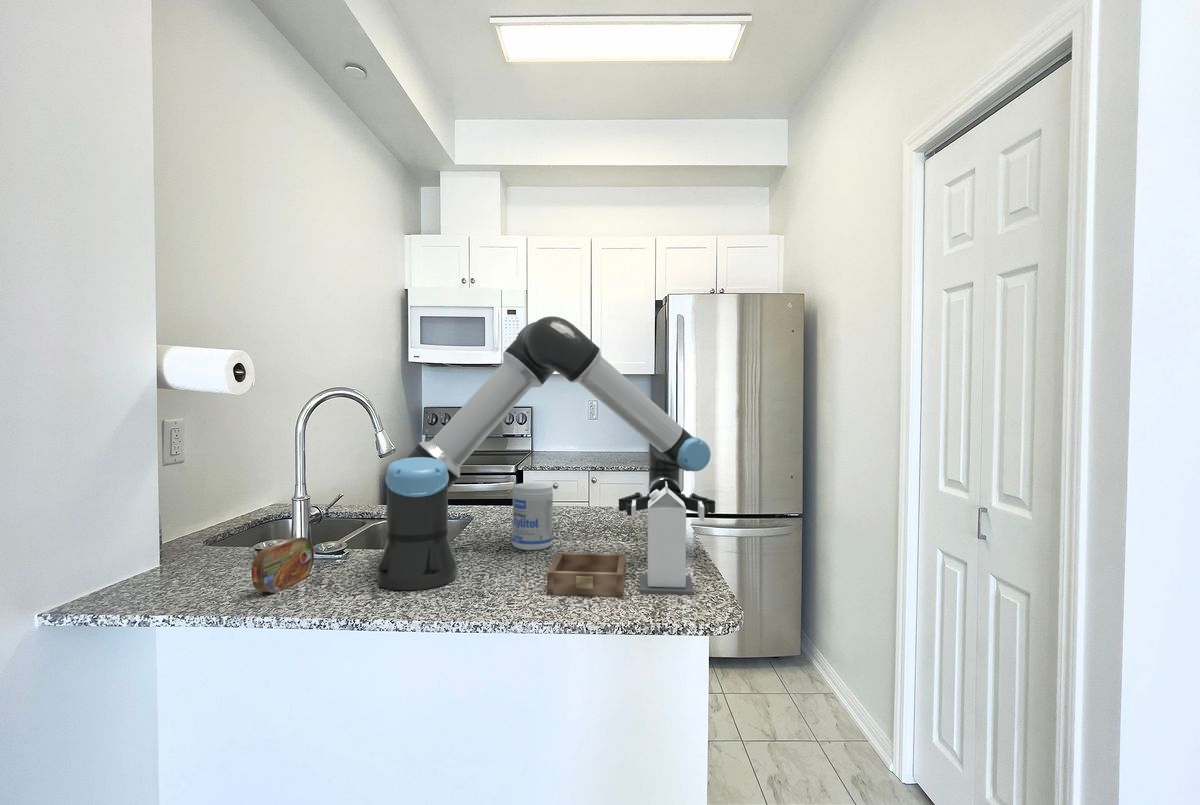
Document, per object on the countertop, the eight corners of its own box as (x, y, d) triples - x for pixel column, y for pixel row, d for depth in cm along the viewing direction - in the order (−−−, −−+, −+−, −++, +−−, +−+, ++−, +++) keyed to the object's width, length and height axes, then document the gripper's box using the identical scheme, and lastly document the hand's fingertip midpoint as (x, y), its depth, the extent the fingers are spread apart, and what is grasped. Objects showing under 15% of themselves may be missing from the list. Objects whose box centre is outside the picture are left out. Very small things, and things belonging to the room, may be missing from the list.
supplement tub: (508, 551, 141) (508, 488, 141) (515, 541, 151) (516, 482, 150) (550, 551, 141) (550, 488, 141) (554, 541, 150) (554, 482, 150)
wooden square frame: (546, 595, 111) (546, 573, 111) (557, 571, 125) (557, 552, 125) (622, 597, 110) (623, 575, 110) (625, 573, 124) (625, 554, 124)
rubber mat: (639, 593, 112) (639, 590, 112) (640, 576, 122) (640, 573, 122) (694, 594, 111) (694, 591, 111) (690, 578, 121) (690, 575, 121)
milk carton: (683, 577, 120) (684, 481, 120) (685, 588, 113) (686, 487, 112) (647, 576, 120) (647, 480, 120) (647, 587, 113) (648, 486, 113)
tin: (263, 599, 108) (263, 552, 108) (247, 598, 109) (247, 551, 109) (315, 574, 123) (315, 533, 123) (301, 573, 124) (301, 532, 123)
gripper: (719, 511, 140) (731, 533, 119) (611, 509, 142) (604, 530, 121) (719, 479, 140) (731, 495, 119) (611, 478, 142) (604, 493, 121)
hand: (667, 513), depth 120 cm, fingers open, 13 cm apart
